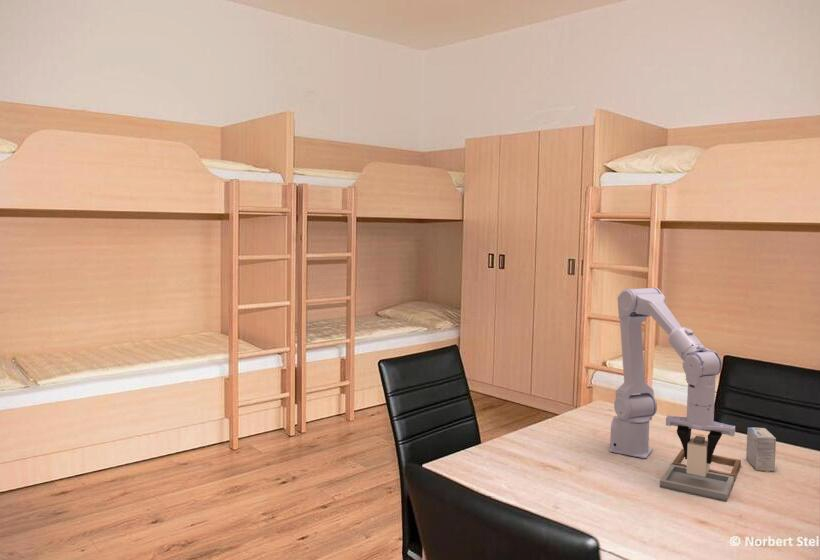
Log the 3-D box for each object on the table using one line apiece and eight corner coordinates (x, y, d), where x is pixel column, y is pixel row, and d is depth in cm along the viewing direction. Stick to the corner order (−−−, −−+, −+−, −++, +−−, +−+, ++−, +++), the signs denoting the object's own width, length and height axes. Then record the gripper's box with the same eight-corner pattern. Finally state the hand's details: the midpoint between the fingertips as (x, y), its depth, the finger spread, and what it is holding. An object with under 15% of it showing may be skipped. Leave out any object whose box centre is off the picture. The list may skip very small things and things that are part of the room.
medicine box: (775, 472, 157) (777, 438, 156) (755, 470, 158) (757, 436, 157) (764, 460, 165) (765, 427, 164) (745, 459, 166) (747, 426, 165)
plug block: (686, 473, 148) (687, 440, 147) (691, 464, 153) (692, 433, 152) (705, 476, 145) (706, 443, 145) (709, 468, 150) (710, 436, 150)
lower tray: (659, 487, 148) (660, 480, 148) (670, 470, 158) (671, 464, 158) (726, 501, 140) (726, 494, 140) (733, 483, 150) (734, 476, 150)
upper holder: (671, 469, 159) (672, 463, 159) (681, 454, 169) (681, 448, 169) (734, 481, 151) (734, 475, 151) (740, 465, 161) (741, 459, 161)
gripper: (663, 402, 148) (661, 459, 149) (733, 412, 140) (730, 472, 141) (670, 395, 154) (668, 450, 155) (737, 404, 146) (734, 462, 147)
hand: (698, 460), depth 149 cm, fingers closed on plug block, 4 cm apart
